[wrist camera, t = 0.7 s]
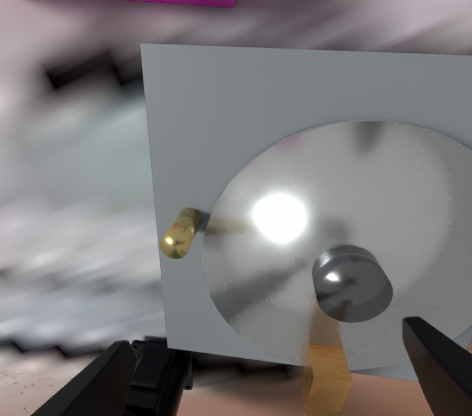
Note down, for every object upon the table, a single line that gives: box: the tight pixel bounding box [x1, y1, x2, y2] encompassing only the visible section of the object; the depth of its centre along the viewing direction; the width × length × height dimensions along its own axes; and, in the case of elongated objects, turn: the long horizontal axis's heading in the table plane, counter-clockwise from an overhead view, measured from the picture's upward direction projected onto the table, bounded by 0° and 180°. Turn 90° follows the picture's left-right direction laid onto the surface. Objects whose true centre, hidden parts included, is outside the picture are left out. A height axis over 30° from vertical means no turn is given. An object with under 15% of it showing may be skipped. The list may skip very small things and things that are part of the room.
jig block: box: [140, 43, 472, 382], centre depth 20 cm, size 23×23×4 cm
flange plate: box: [202, 118, 472, 416], centre depth 17 cm, size 20×18×4 cm
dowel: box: [160, 208, 202, 259], centre depth 17 cm, size 2×2×4 cm
